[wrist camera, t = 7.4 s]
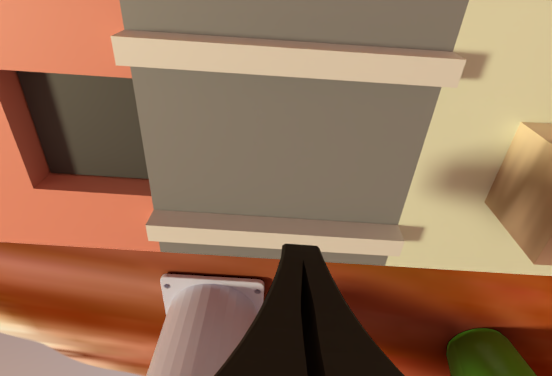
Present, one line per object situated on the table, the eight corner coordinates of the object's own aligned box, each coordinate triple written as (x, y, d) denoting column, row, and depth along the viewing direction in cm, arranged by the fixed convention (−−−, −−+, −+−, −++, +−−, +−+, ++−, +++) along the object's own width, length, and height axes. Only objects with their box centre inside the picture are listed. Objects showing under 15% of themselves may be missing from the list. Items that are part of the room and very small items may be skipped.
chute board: (572, 257, 26) (609, 296, 23) (-15, 220, 25) (-55, 255, 22) (747, 10, 17) (844, 22, 14) (-150, -51, 16) (-245, -52, 14)
